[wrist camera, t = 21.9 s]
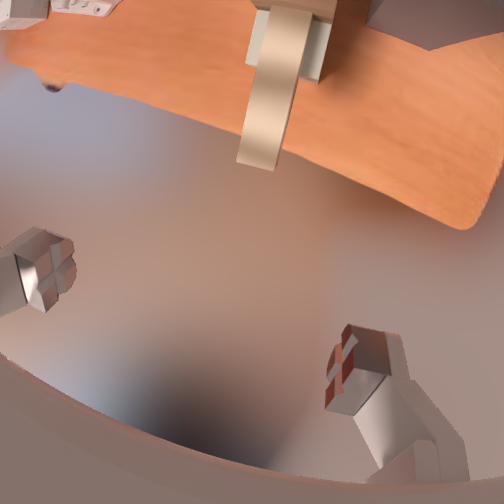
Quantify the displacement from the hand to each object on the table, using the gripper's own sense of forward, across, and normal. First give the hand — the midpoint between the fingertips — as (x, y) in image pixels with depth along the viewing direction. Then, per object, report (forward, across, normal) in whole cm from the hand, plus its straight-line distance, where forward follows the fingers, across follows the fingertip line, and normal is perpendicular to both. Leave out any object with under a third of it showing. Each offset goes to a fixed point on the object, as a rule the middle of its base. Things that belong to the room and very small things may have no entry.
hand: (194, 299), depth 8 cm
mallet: (+25, +2, -8) cm, 26 cm away
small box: (+41, +56, -18) cm, 72 cm away
